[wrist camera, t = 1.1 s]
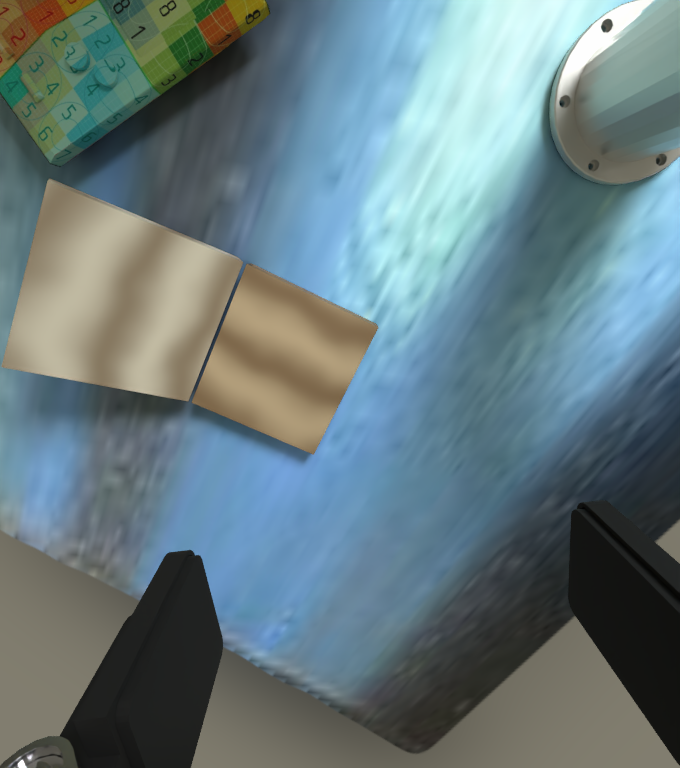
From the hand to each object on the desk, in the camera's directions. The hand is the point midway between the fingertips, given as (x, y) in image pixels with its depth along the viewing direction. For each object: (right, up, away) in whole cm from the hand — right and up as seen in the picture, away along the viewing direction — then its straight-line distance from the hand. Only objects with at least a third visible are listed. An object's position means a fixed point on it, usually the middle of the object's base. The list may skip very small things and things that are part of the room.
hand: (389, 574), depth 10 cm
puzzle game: (-18, +33, +22) cm, 43 cm away
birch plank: (-19, +11, +24) cm, 33 cm away
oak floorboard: (-7, +7, +30) cm, 31 cm away
